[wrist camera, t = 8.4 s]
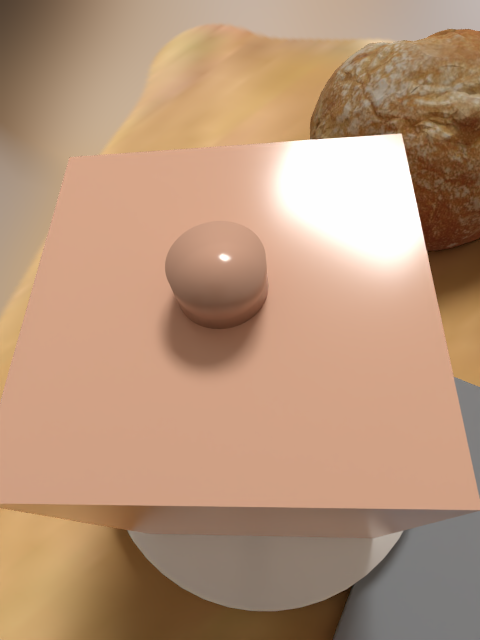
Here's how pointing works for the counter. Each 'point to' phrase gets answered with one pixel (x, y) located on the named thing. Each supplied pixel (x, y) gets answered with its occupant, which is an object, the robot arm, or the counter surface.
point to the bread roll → (418, 122)
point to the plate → (263, 566)
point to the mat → (425, 571)
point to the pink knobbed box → (237, 349)
